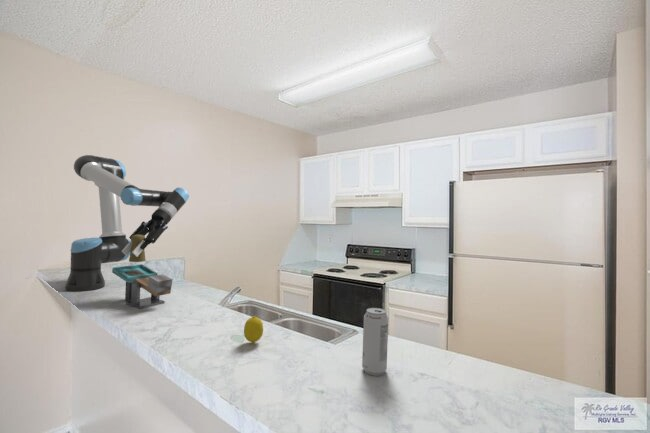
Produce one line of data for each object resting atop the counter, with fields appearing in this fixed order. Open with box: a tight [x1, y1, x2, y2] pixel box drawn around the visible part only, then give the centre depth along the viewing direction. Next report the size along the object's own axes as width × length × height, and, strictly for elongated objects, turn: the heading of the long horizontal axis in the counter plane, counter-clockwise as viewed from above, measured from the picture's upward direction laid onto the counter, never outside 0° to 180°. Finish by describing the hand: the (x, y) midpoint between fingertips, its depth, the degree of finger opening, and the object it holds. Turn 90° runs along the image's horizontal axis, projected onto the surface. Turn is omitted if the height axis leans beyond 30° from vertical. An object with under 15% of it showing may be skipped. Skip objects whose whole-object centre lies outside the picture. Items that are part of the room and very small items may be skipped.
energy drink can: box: [361, 307, 389, 377], centre depth 79 cm, size 6×6×15 cm
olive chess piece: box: [128, 235, 146, 263], centre depth 134 cm, size 6×6×11 cm
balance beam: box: [111, 264, 174, 297], centre depth 130 cm, size 12×27×7 cm, turn 59°
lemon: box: [243, 315, 264, 344], centre depth 94 cm, size 6×6×8 cm
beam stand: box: [124, 281, 166, 310], centre depth 131 cm, size 10×16×9 cm, turn 59°
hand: (129, 253), depth 131 cm, fingers closed on olive chess piece, 5 cm apart
